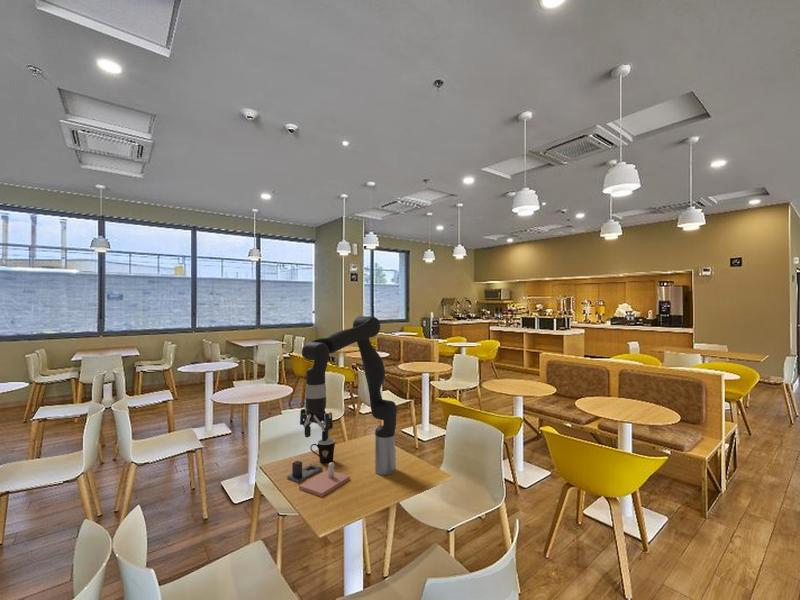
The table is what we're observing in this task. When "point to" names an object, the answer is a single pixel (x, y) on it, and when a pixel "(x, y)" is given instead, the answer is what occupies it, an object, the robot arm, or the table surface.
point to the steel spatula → (302, 471)
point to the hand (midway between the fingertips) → (316, 438)
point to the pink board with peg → (324, 482)
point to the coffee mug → (325, 450)
